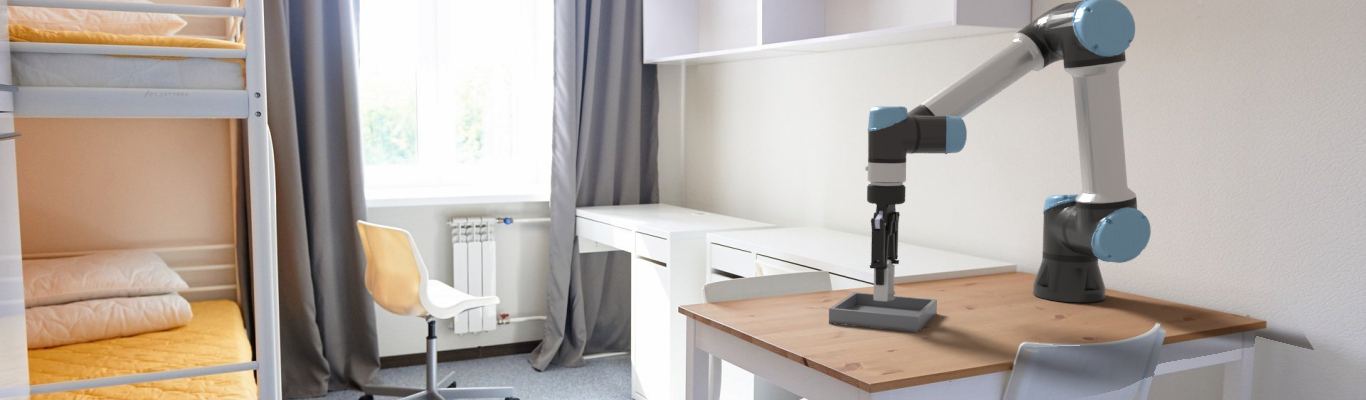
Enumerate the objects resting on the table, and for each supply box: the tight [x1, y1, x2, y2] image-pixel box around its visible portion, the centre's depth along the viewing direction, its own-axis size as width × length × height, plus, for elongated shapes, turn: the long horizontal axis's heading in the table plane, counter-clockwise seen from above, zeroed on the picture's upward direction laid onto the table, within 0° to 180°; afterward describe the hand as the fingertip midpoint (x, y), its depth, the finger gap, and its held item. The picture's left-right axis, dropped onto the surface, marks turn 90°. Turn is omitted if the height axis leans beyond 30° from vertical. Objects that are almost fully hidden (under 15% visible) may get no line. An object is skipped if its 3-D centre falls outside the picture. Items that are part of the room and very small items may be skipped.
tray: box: [828, 291, 938, 333], centre depth 191 cm, size 18×18×3 cm
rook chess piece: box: [873, 260, 896, 301], centre depth 191 cm, size 4×4×8 cm
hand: (883, 297), depth 191 cm, fingers closed on rook chess piece, 4 cm apart
